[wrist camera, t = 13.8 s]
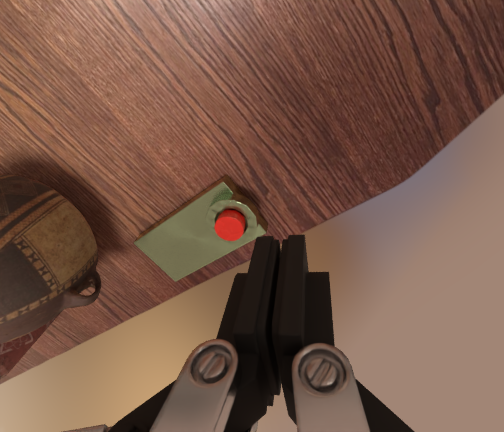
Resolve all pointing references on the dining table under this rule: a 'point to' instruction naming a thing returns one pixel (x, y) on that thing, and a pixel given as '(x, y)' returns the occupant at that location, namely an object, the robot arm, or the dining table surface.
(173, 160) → the dining table surface
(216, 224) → the power button
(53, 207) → the vase
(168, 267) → the switch box
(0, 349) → the can
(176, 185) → the dining table surface
